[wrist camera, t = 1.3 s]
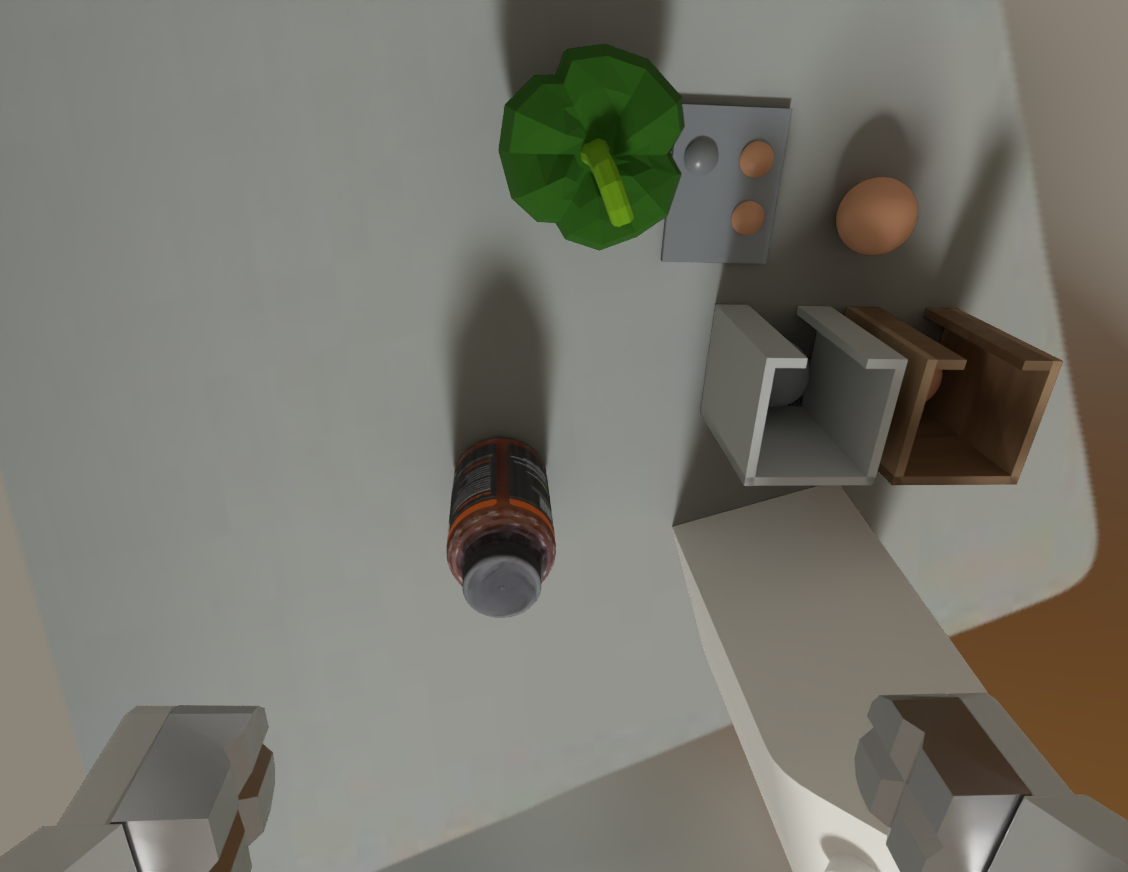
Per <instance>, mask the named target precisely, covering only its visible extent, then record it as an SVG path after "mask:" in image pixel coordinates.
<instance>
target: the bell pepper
mask: <svg viewBox="0 0 1128 872" xmlns="http://www.w3.org/2000/svg"><path fill="white" fill-rule="evenodd" d="M684 127H685V123H684V114H683V106H682V97H681V96H680V94H679V93H678V92H677V91H676V90H675V89H674V88H673V87H672V85H671V84H670V83H669V82H668V81H667V80H666V79H665V78H664V76H663V75H662V74H661V73H660V72H659V71H658V70H657V69H656V67H655V66H654V65H653V64H652V63H651V62H650V61H649V60H648V59H647V58H644V57H641V56H638V55H635V54H632V53H630V52H627V51H624V50H621V49H618V48H615V47H613V46H610V45H607V44H600V45H593V46H585V47H578V48H571V49H567V50H565V51H564V53H563V56H562V58H561V61H560V64H559V67H558V70H557V72H556V75H534V76H533V77H532V78H531V79H530V80H529V81H528V82H527V83H526V84H525V85H524V86H523V87H522V88H521V89H520V90H519V91H518V92H517V93H516V94H515V95H514V96H513V97H512V98H511V99H510V100H509V101H508V102H507V103H506V104H505V108H504V115H503V122H502V129H501V136H500V143H499V150H498V151H499V154H500V158H501V162H502V165H503V169H504V173H505V176H506V180H507V184H508V187H509V191H510V195H511V198H512V199H513V200H514V201H515V202H516V203H517V204H518V205H519V206H520V207H522V208H523V209H524V210H525V211H526V212H527V213H528V214H529V215H530V216H531V217H532V218H534V219H535V220H536V221H537V222H548V223H556V225H557V226H558V228H559V230H560V231H561V233H562V235H563V236H564V238H565V239H566V240H569V241H572V242H575V243H578V244H581V245H584V246H587V247H590V248H593V249H596V250H602V249H605V248H608V247H610V246H613V245H616V244H619V243H621V242H624V241H627V240H630V239H632V238H635V237H637V236H639V235H640V234H642V233H643V232H645V231H646V230H647V229H649V228H650V227H652V226H653V225H655V224H656V223H658V222H659V221H661V220H662V219H664V218H665V217H667V216H668V214H669V211H670V208H671V205H672V202H673V199H674V196H675V193H676V190H677V187H678V184H679V181H680V178H681V175H682V173H681V171H680V169H679V168H678V166H677V164H676V162H675V160H674V159H673V157H672V155H671V153H670V152H671V150H672V148H673V147H674V145H675V143H676V141H677V140H678V138H679V136H680V134H681V133H682V131H683V129H684Z"/></svg>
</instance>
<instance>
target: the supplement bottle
mask: <svg viewBox="0 0 1128 872" xmlns="http://www.w3.org/2000/svg"><path fill="white" fill-rule="evenodd" d="M555 554H556V544H555V536H554V527H553V519H552V512H551V505H550V496H549V489H548V480H547V475H546V470H545V467H544V465H543V462H542V460H541V459H540V457H539V456H538V455H537V453H536V452H534V451H533V450H532V449H531V448H530V447H528V446H527V445H525V444H524V443H521V442H519V441H516V440H512V439H505V438H495V439H488V440H486V441H482V442H480V443H478V444H476V445H474V446H473V447H471V448H470V449H469V450H467V451H466V452H465V453H464V455H463V456H462V457H461V459H460V460H459V462H458V464H457V466H456V469H455V473H454V478H453V488H452V497H451V508H450V516H449V528H448V539H447V561H448V565H449V568H450V570H451V572H452V574H453V576H454V577H455V579H456V580H457V581H458V583H460V584H461V586H463V594H464V597H465V599H466V601H467V602H468V604H469V605H470V606H471V607H472V608H473V609H474V610H476V611H478V612H479V613H481V614H483V615H486V616H490V617H495V618H506V617H512V616H515V615H518V614H521V613H523V612H525V611H526V610H527V609H529V608H530V607H531V606H532V605H533V604H534V603H535V602H536V601H537V598H538V597H539V595H540V592H541V583H542V582H543V581H544V580H545V579H546V577H547V576H548V574H549V573H550V571H551V570H552V567H553V564H554V560H555Z"/></svg>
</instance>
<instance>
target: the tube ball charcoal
mask: <svg viewBox="0 0 1128 872" xmlns="http://www.w3.org/2000/svg"><path fill="white" fill-rule="evenodd" d="M789 342H790V341H789ZM790 343H791V344H792V345H794V346H795V347H796V348H797V349H798V350H799V351H800V352H801V353H802V354H804V355H805V353H804V352H803V351H802V350H801V348H800V347H798V346H797V345H795V344H794V343H792V342H790ZM805 356H806V355H805ZM806 357H807V356H806ZM810 375H811V370H810V364H809V361H808V360H807V365H806V368H775V372H774V378H773V383H772V388H771V394H770V399H769V405H768V407H781V406H785V405H788V404H790V403H792V402H794V401H795V400H797V399H798V398H799V397H800V396H801V395H802V394H803V393H804V391H805V390H806V388H807V386H808V384H809V381H810Z"/></svg>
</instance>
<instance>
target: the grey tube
mask: <svg viewBox="0 0 1128 872" xmlns="http://www.w3.org/2000/svg"><path fill="white" fill-rule="evenodd" d="M796 314H797V315H798V316H799V317H801V318H802V319H803V320H805V321H806V322H807V323H808V324H810V325H811V326H812V327H813V328H815V329H816V330H817V334H816V338H815V343H814V348H813V353H812V358H811V362H810V370H811V375H810V381H809V384H808V386H807V388H806V390H805V391H804V396H803V401H802V406H781V407H768V405H769V399H770V394H771V388H772V383H773V378H774V372H775V368H806V365H807V360H808V358H807V357H806V356H805V355H804V354H802V353H801V352H800V351H799V350H798V349H797V348H796V347H795V346H794V345H792V344H791V343H790V342H789V341H788V340H787V339H786V338H785V337H784V336H782V335H781V334H780V333H779V332H778V331H777V330H776V329H775V328H774V327H772V326H771V325H770V324H769V323H768V322H767V321H766V320H765V319H764V318H763V317H761V316H760V315H759V314H758V313H757V312H756V311H755V310H754V309H753V308H751V307H750V306H749V305H729V304H715V310H714V317H713V324H712V332H711V339H710V346H709V353H708V360H707V367H706V375H705V382H704V389H703V396H702V403H701V410H700V414H701V415H702V417H703V418H704V420H705V422H706V423H707V425H708V427H709V428H710V430H711V432H712V433H713V435H714V437H715V438H716V440H717V442H718V443H719V445H720V447H721V448H722V450H723V452H724V453H725V455H726V457H727V458H728V460H729V462H730V463H731V465H732V467H733V468H734V470H735V472H736V473H737V475H738V477H739V478H740V480H741V482H742V483H743V485H744V486H811V485H874V482H875V479H876V475H877V471H878V468H879V464H880V460H881V457H882V453H883V449H884V446H885V442H886V439H887V435H888V431H889V428H890V424H891V420H892V417H893V413H894V409H895V406H896V402H897V398H898V395H899V391H900V387H901V384H902V380H903V376H904V373H905V369H906V365H907V362H908V359H907V358H905V357H904V356H902V355H901V354H899V353H898V352H896V351H895V350H894V349H892V348H891V347H889V346H888V345H886V344H885V343H883V342H882V341H880V340H879V339H877V338H876V337H875V336H873V335H872V334H870V333H869V332H867V331H866V330H864V329H863V328H861V327H860V326H858V325H857V324H855V323H854V322H853V321H851V320H850V319H848V318H847V317H845V316H844V315H842V314H841V313H839V312H838V311H836V310H835V309H834V308H832V307H831V306H798V307H797V313H796Z"/></svg>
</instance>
